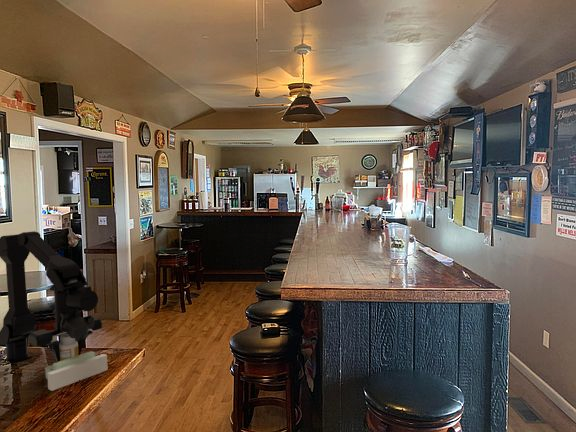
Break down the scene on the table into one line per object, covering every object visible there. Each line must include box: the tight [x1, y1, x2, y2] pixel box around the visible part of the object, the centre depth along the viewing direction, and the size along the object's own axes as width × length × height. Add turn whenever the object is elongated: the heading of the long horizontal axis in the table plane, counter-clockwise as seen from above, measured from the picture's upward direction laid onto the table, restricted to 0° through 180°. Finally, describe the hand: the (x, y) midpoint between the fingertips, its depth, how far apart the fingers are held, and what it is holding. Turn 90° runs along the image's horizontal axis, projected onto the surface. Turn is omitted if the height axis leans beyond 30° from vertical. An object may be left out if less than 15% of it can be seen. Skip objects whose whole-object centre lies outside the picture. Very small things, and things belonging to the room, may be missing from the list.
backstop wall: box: [47, 353, 109, 392], centre depth 120 cm, size 2×16×4 cm, turn 143°
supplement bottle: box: [59, 334, 79, 361], centre depth 124 cm, size 5×5×10 cm
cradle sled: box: [45, 350, 96, 380], centre depth 123 cm, size 7×11×6 cm, turn 143°
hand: (68, 359), depth 124 cm, fingers closed on supplement bottle, 5 cm apart
